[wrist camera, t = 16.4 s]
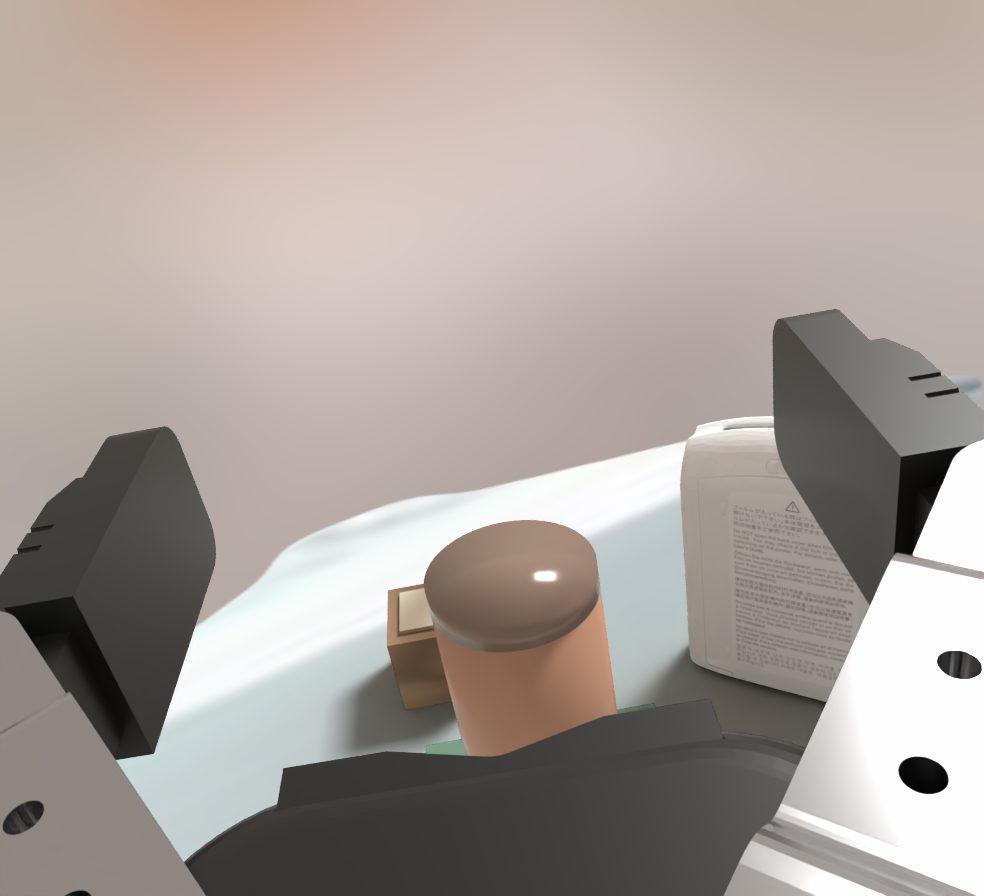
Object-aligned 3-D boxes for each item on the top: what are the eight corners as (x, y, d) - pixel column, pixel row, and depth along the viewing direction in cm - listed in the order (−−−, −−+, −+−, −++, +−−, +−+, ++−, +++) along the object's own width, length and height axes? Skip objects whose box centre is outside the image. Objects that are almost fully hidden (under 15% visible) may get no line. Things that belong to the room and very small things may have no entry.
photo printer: (939, 663, 40) (964, 413, 34) (923, 735, 37) (948, 474, 31) (707, 613, 45) (694, 387, 39) (677, 672, 42) (657, 437, 36)
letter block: (483, 638, 46) (469, 572, 44) (490, 695, 43) (475, 626, 41) (405, 653, 46) (387, 587, 44) (405, 711, 43) (385, 642, 41)
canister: (616, 754, 38) (582, 508, 32) (646, 873, 33) (611, 608, 27) (481, 777, 38) (423, 536, 32) (490, 900, 33) (423, 640, 27)
